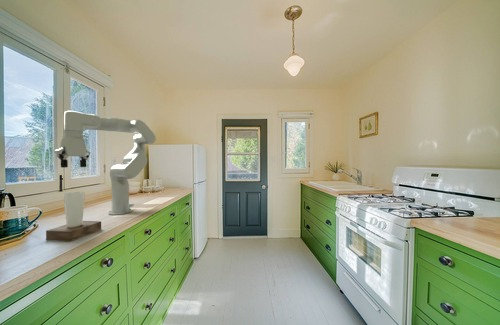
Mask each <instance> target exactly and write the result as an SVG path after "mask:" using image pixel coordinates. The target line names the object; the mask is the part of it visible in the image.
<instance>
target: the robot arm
mask: <svg viewBox="0 0 500 325" xmlns="http://www.w3.org/2000/svg"><path fill="white" fill-rule="evenodd" d="M63 130H64V131H63V132H64V133H63V135H64V136H62V137H61V140H60V145H59V148H58V149H55V150H54V153H55V154H56V157H57V158H58V159H59V160H60V168H68V166H69V165H68V163H69V161H68V158H69V157H79V159H80V160H79V166H80V168H86V167H87V161H88V159H89V158H90V155H91V151H89V150H88V149H87V147H86V140H85V134H84V130H89V131H91V130H92V131H106V132H117V133H127V134H128V133H130V134H133V133H136V134H134V135H133V137H132V138H133V139H132V140H133V148H132V149H131V150H130V151H128V153H127V154H126V155H124V157H123V159H122V163H120V164H119V163H118V164H114V165H112V166H111V167H110V169H109V177H110V183H111V187H110V188H111V190H110V192H111V193H110V194H111V210H110V211H108V215H112V216H116V215H124V214H128V213H129V214H130V213H131V212H132V210H133V209H132V208H133V207H134V206H135V204H134V203H131V204H130V184H129V180H132V179H134V178H136V177H137V176H138V175H139V174H141V172H142V170H143V169H144V168H146V165H147V164H148V157H147V155H146V153H147V150H146V145H151V144H154V143H156V140H157V137H156V134H155V133H154V132H153V131H152V129H151V128H150V127H149V126H148V125H147V124H146V122H145V121H143V120H141V119H132V120H131V119H125V118H118V117H103V118H102V117H100V116H98V115H97V114H93V113H83V112H79V111H74V110H67V111H64V114H63Z"/></svg>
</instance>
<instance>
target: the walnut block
mask: <svg viewBox="0 0 500 325" xmlns="http://www.w3.org/2000/svg"><path fill="white" fill-rule="evenodd" d="M101 230H102V221H98V220H96V221H95V220H83V224H82V225H81V226H78V227H73V228H68V227H67V226H66V224H64V225H59V226H57V227H53V228H51V229H47V230H45V240H46V241H59V242H73V241H75V240H78V239H81V238H83V237H86V236H88V235H91V234H94V233H96V232H98V231H101Z"/></svg>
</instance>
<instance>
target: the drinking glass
mask: <svg viewBox="0 0 500 325" xmlns="http://www.w3.org/2000/svg"><path fill="white" fill-rule="evenodd" d="M85 197H86V196H85V191H73V192H65V193H64V196H63V203H64V212H65V213H64V214H65V220H66V222H65V223H66V224H65V225H66V226H67V227H68V228H73V227H78V226H81V225H82V224H83V221H84V220H83V218H84V208H85V201H86V200H85Z"/></svg>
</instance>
